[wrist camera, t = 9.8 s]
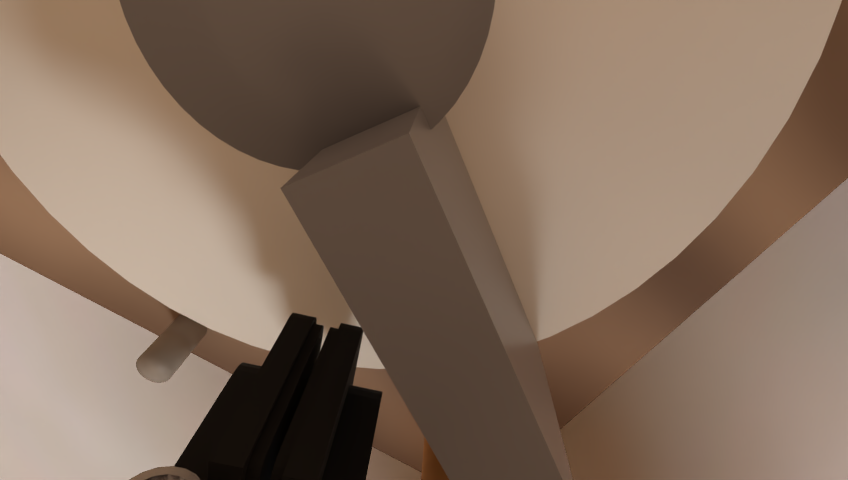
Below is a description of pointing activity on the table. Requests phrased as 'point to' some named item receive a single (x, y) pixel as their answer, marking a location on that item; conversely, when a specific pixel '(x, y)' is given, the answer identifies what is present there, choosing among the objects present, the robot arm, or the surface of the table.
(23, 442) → the table surface
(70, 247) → the dial board
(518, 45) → the dial
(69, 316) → the table surface
